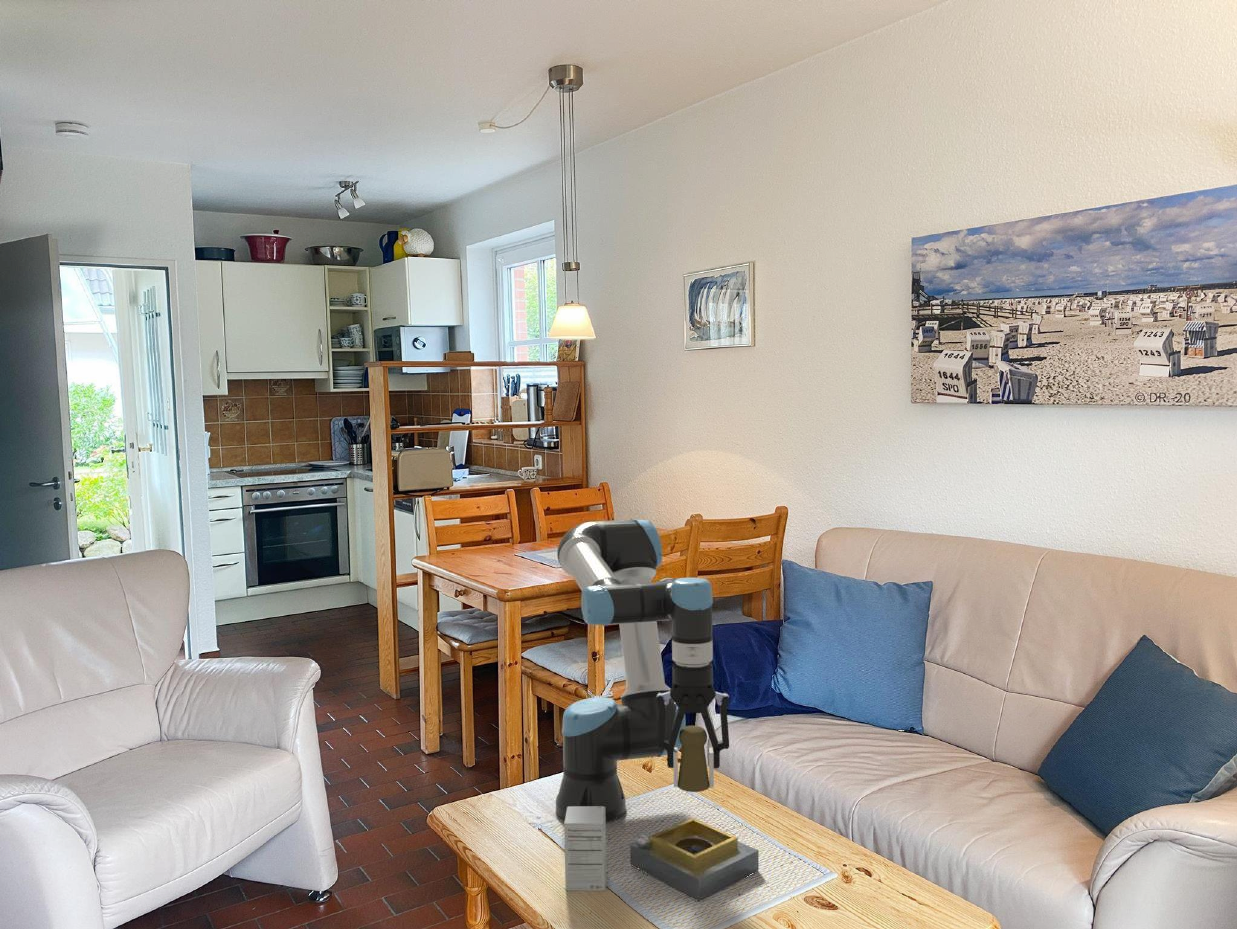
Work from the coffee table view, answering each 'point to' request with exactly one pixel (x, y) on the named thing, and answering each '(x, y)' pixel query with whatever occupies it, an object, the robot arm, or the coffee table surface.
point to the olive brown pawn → (693, 760)
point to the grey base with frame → (694, 858)
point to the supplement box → (585, 848)
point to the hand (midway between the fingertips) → (693, 784)
